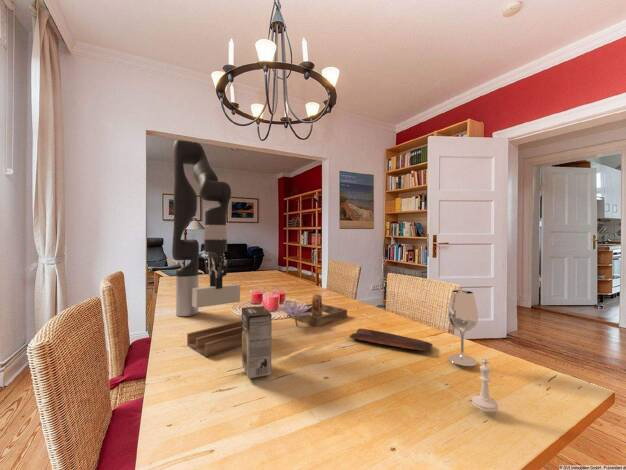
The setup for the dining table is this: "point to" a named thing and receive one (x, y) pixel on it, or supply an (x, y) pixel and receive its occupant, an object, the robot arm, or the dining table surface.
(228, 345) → the rack
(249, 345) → the coffee box
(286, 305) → the water lily
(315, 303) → the stone disc
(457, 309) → the wineglass
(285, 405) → the dining table surface
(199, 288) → the cream rectangular block
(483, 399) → the chess piece
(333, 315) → the square wooden tray
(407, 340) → the wooden tablet
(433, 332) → the dining table surface
